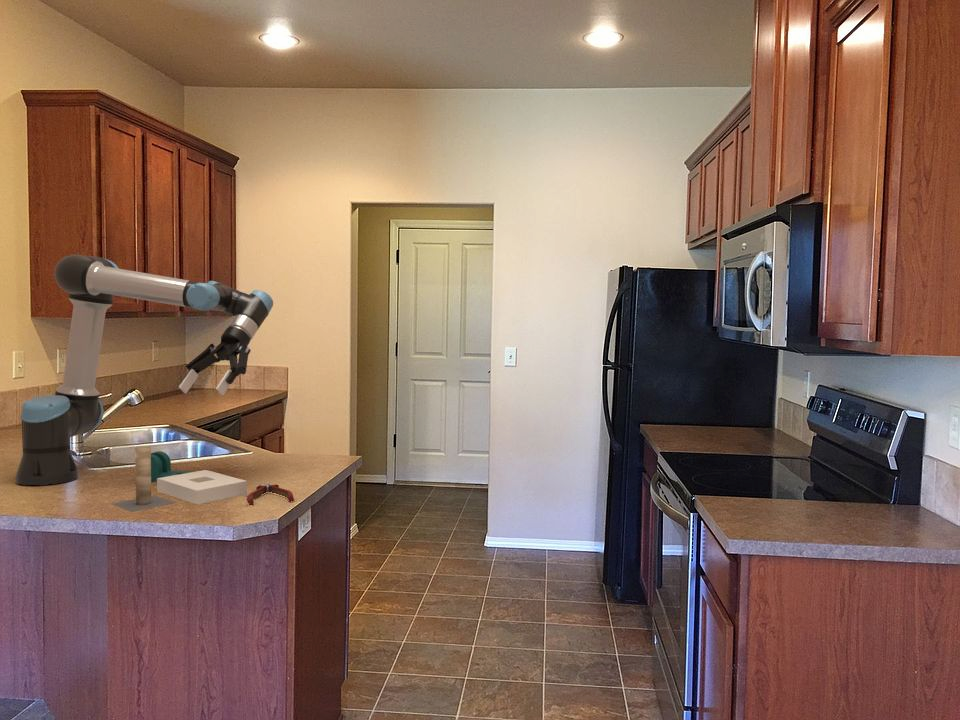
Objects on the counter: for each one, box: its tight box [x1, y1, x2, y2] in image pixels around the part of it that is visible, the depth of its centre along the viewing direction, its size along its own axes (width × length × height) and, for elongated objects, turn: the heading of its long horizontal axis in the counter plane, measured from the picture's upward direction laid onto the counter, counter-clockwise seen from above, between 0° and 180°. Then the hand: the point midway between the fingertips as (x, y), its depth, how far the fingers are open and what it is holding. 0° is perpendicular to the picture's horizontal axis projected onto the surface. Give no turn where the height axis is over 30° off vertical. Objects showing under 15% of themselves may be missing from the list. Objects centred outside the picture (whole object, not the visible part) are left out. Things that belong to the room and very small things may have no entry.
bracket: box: [151, 450, 194, 483], centre depth 203 cm, size 18×7×8 cm, turn 84°
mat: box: [111, 494, 177, 513], centre depth 177 cm, size 11×11×1 cm
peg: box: [134, 445, 152, 505], centre depth 176 cm, size 4×4×14 cm
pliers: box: [246, 482, 295, 506], centre depth 189 cm, size 12×20×3 cm, turn 21°
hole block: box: [156, 469, 248, 506], centre depth 188 cm, size 20×14×4 cm
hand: (200, 391), depth 193 cm, fingers open, 13 cm apart
